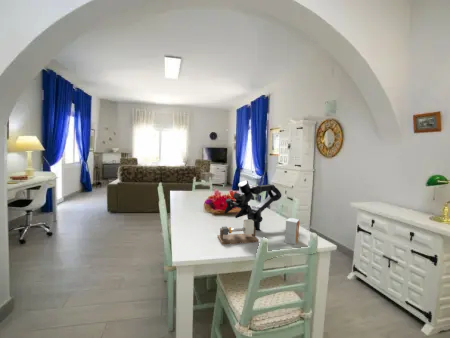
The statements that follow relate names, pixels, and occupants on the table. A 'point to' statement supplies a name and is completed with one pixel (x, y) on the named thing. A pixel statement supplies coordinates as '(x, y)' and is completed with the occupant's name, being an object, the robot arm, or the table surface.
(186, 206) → the table surface
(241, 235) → the rod stand
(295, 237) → the small box
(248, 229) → the sleeve
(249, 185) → the robot arm
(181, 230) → the table surface
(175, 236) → the table surface
